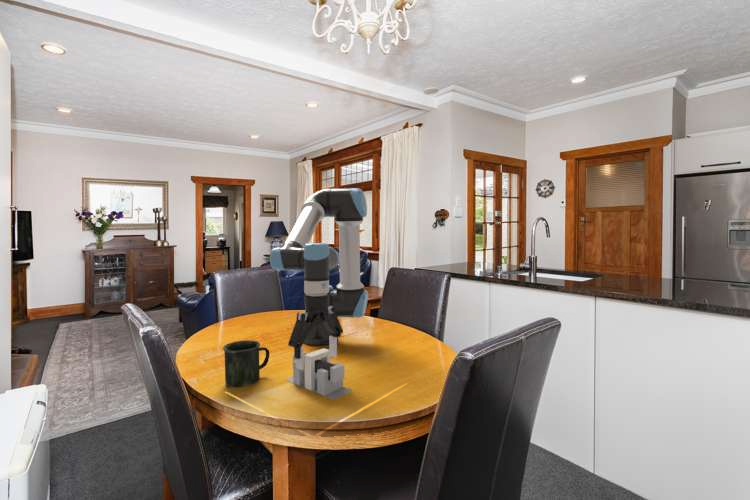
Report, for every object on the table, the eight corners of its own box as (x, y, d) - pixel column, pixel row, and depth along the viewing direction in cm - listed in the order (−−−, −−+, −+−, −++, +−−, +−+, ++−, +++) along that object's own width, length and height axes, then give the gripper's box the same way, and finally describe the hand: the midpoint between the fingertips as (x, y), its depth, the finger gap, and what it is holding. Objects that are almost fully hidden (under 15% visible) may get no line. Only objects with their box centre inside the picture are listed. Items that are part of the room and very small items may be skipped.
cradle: (285, 381, 124) (284, 358, 123) (304, 374, 130) (304, 352, 129) (333, 402, 110) (333, 375, 109) (352, 392, 116) (352, 367, 115)
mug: (219, 381, 124) (218, 344, 123) (262, 370, 133) (261, 336, 132) (231, 393, 116) (230, 353, 115) (276, 380, 125) (275, 343, 124)
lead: (292, 367, 124) (292, 354, 124) (302, 363, 127) (302, 351, 127) (334, 382, 112) (334, 368, 112) (344, 378, 115) (344, 364, 115)
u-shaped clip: (304, 388, 118) (304, 354, 117) (324, 379, 124) (323, 348, 123) (311, 390, 116) (311, 357, 115) (330, 382, 122) (330, 350, 121)
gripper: (292, 301, 106) (292, 377, 107) (353, 290, 125) (353, 354, 126) (275, 298, 110) (276, 371, 112) (337, 287, 130) (337, 350, 131)
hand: (317, 362), depth 119 cm, fingers open, 13 cm apart
